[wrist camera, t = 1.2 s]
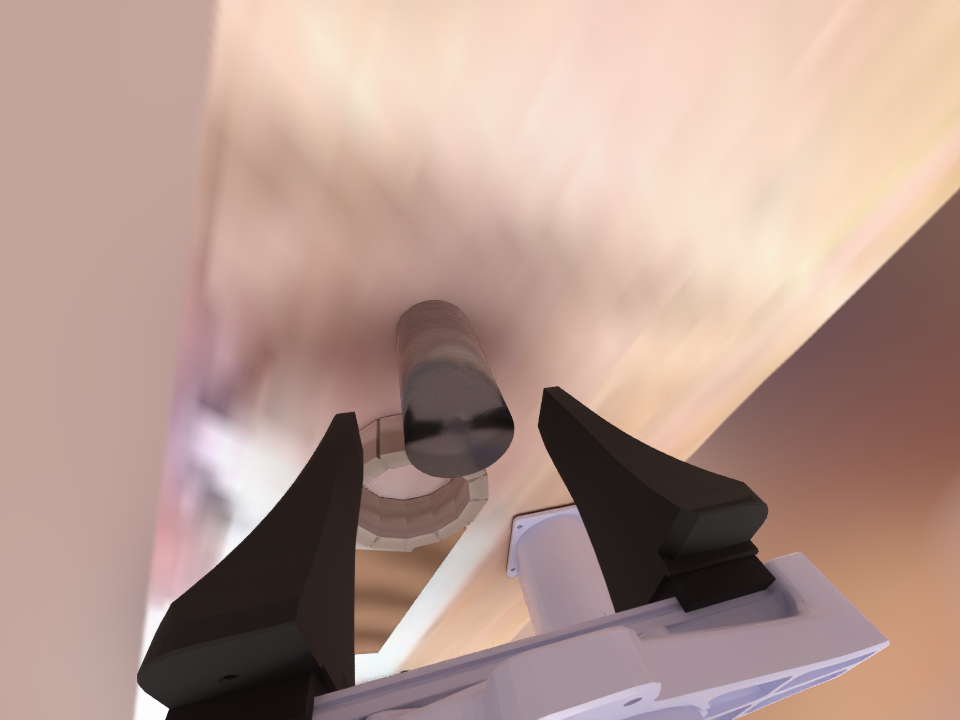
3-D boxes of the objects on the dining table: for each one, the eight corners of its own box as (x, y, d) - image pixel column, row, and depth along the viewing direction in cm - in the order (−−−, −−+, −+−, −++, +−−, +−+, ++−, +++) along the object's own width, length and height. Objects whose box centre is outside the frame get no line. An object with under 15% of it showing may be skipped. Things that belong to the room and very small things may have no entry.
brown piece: (377, 635, 36) (377, 671, 34) (243, 641, 31) (231, 685, 29) (516, 433, 25) (530, 466, 22) (340, 392, 20) (335, 429, 17)
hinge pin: (469, 361, 21) (510, 468, 14) (399, 369, 20) (409, 485, 13) (470, 297, 19) (518, 389, 12) (391, 303, 18) (399, 404, 11)
